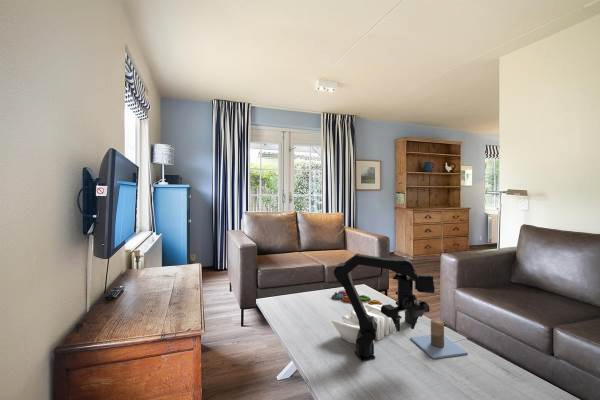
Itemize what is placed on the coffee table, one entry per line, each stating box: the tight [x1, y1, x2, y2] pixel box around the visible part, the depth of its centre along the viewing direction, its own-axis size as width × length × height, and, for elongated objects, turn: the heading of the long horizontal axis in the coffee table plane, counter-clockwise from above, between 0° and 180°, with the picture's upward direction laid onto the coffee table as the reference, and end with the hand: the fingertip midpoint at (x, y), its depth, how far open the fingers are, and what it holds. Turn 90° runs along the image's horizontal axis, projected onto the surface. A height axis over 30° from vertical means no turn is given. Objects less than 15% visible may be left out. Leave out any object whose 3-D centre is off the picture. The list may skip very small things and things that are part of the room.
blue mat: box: [410, 334, 469, 360], centre depth 122 cm, size 16×16×1 cm
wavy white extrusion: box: [331, 303, 395, 345], centre depth 134 cm, size 35×16×10 cm, turn 128°
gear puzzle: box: [330, 289, 383, 305], centre depth 175 cm, size 31×16×4 cm, turn 51°
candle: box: [404, 281, 418, 325], centre depth 145 cm, size 5×5×25 cm
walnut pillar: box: [430, 318, 445, 348], centre depth 122 cm, size 5×5×10 cm
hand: (405, 330), depth 110 cm, fingers open, 6 cm apart
